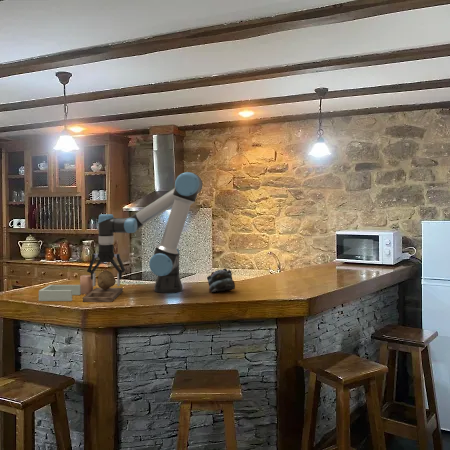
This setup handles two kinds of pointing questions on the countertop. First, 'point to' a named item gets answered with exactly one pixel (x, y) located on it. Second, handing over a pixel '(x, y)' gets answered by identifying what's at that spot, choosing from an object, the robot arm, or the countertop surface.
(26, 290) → the countertop surface
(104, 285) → the natural sponge
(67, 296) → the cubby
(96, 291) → the brown wooden tray
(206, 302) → the countertop surface
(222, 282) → the grey animal figurine
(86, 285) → the brown rounded block
